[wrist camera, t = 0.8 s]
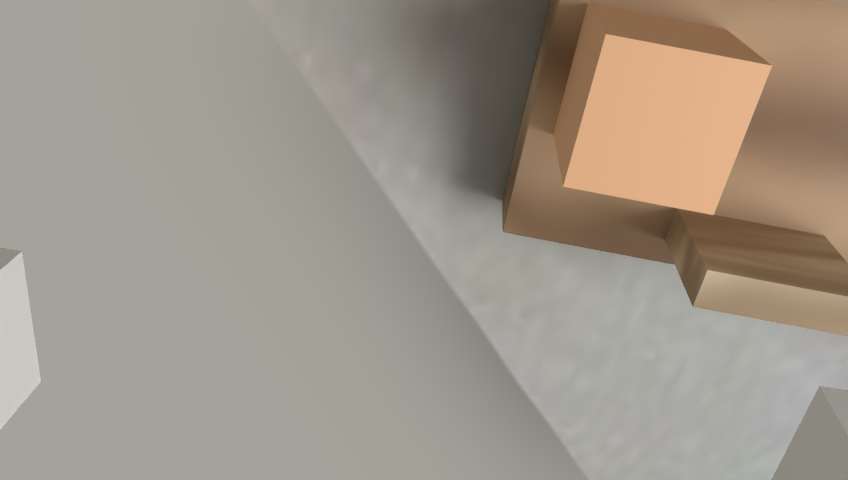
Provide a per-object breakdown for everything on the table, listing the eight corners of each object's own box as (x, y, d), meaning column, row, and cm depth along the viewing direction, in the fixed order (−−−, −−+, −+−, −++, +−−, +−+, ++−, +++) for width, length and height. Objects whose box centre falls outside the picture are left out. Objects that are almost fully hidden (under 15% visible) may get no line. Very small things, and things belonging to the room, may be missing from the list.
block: (587, 3, 26) (606, 33, 22) (726, 29, 26) (771, 65, 22) (553, 134, 29) (563, 186, 24) (680, 159, 29) (713, 215, 24)
